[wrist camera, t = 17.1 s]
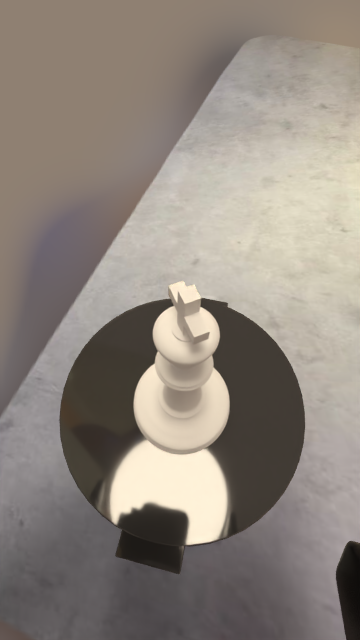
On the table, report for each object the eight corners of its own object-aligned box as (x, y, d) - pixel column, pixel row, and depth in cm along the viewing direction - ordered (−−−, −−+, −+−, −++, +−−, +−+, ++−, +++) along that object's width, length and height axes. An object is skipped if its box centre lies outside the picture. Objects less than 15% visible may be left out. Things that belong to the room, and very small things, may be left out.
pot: (267, 585, 17) (300, 615, 12) (44, 523, 18) (2, 531, 14) (284, 341, 24) (308, 306, 19) (123, 308, 25) (112, 268, 21)
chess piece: (153, 471, 15) (124, 433, 6) (121, 378, 17) (65, 251, 8) (246, 429, 16) (334, 343, 7) (204, 345, 18) (231, 202, 9)
